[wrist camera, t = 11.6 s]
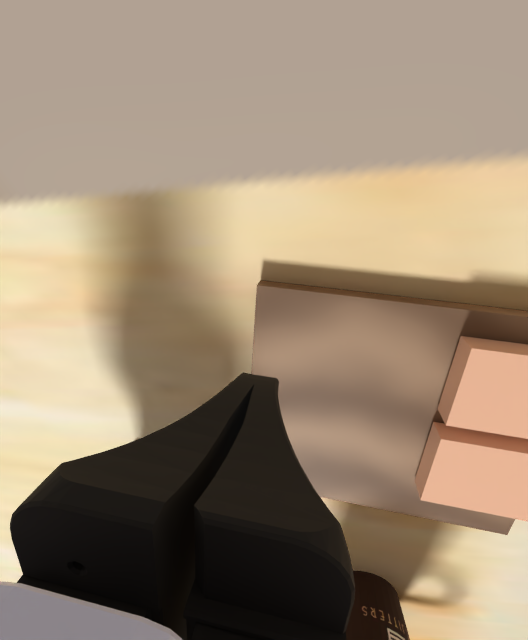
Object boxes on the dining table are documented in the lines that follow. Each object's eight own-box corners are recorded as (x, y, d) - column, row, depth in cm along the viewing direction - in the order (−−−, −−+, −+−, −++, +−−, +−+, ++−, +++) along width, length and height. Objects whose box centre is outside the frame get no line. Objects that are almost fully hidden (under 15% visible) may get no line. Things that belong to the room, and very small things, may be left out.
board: (499, 519, 25) (507, 535, 23) (248, 469, 27) (244, 481, 26) (594, 318, 19) (611, 326, 17) (260, 280, 21) (257, 285, 20)
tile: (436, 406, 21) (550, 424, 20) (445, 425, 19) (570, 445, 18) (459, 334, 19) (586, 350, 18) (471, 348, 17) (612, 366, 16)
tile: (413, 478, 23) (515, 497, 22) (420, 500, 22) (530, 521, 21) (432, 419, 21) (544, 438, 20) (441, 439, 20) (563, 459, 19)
